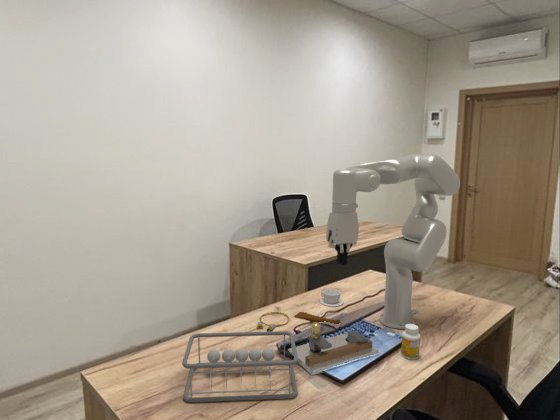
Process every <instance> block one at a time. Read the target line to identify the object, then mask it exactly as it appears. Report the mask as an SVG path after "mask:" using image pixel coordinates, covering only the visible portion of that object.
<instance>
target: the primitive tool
mask: <svg viewBox="0 0 560 420" xmlns="http://www.w3.org/2000/svg"><path fill="white" fill-rule="evenodd" d="M293 318H295V319H298V320H299V319H300V320H305V321H309V322H312V323H313V322H324V321H326V322H330V323H334V324H339V323H341V320H340V319H331V318H326V317H322V316H318V315H314V314H310V313H308V312H306V311H305V312H304V311H300V312H298V313H297V314H294V315H293Z"/></svg>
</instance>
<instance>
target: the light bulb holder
mask: <svg viewBox="0 0 560 420" xmlns="http://www.w3.org/2000/svg"><path fill="white" fill-rule="evenodd" d="M321 325H322V324H320V323H319V322H312V323H311V329H310V330H311V334H310V335H311V337H308V343H309V347H310V348H311V349H312V350H314V351H316V350H320V349H323V350H325V349H328V348H332V344H331V343H329V342H328V341H327V340H325V339H326V338H324V337H323V336H321V329H322V328H321Z"/></svg>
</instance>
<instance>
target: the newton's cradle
mask: <svg viewBox="0 0 560 420" xmlns="http://www.w3.org/2000/svg"><path fill="white" fill-rule="evenodd" d="M258 336H260V337H261V336H262V337H264V336H283V359H279V360H277V359H276V360H275V359H274V358H275V356H276V353H275V351H274V349H273V348H271V347H265V348H264V349H263V350H260V348H257V347H253V348H251V349H250V350H249V352H248V351H247V349H246V348H238V349H237V351H234V350H233V349H230V348H226V349H225V350H223V352H222V355H221V352H220V351H219V350H218V349H213V348H212V349H210V350H209V351H208V353H207V355H206V358H207V361H208V362H201V352H200V351H201V349H200V348H201V346H200V345H201V344H200V341H201V340H200V338H222V337H223V338H227V337H229V338H230V337H231V338H232V337H258ZM286 336H288V337H289V341H290V345H291V348H292V351H293V356H294V358H293V359H292V360H287V359H286ZM196 338H197V342H198V343H197V346H198V347H197V348H198V362H196V363H188V360H189V356H190V353H191V349H192V346H193V342H194V339H196ZM296 347H297V346H296V343H295V337H294V334H293V333H292V332H290V331H288V330H287V331H286V330H282V331H281V330H277V331H275V330H272V331H270V332H269V331H268V332H267V331H241V332H239V331H238V332H236V331H235V332H207V333H206V332H203V333H201V332H200V333H193V334H192V335H191V336H190V337H189V340H188V343H187V345H186V349H185V353H184V355H183V358H182V362H181V365H182V367H183V368H185V369H189V373H188V376H187V380H186V385H185V388H184V391H183V396H182V397H183V400H184V401H185V402H187V403H206V402H207V403H208V402H211V403H212V402H235V401H237V402H239V401H256V400H257V401H258V400H259V401H261V400H283V399H285V400H286V399H293V398H296V397H297V396H298V393H299V391H298V390H299V389H298V386H297V380H296V375H295V370H294V365H296V364H297V363H298V355H297V350H296ZM220 358H222V360H223V361H221V362H220V361H219V360H220ZM234 359H236V360H237V361H234ZM248 359H250V360H248ZM261 359H263V360H261ZM275 366H277V367H278V366H288V368H272V369H271V367H275ZM245 367H247V368H248V367H249V368H251V367H253V368H254V369H245V370H244V369H243V368H245ZM257 367H268V369H267V368H266V369H257ZM215 368H216V369H218V368H220V369H221V368H225V370H218V371H217V370H216V371H215V370H214V369H215ZM229 368H240V370H229ZM195 369H210V371H195ZM242 369H243V370H242ZM279 371H282V372H283V371H289V372H288V375H289V376H288V388H274V389H273V388H272V382H269V387H270V389H247V390H246V389H245V390H243V389H240V390H227V387H228V386H227V385H228V379H225V390H221V391H220V390H218V391H193V382H192V381H193V376H194V375H195V374H196V375H198V374H210V377H214V376H213V374H216V373H217V374H222V373H225V374H226V375H228V374H229V373H240V383H242V380H243V379H242V378H243V377H242V375H243V373H250V372H251V373H255V375H254V378H255V379H254V380H255V381H254V383H255V384H254V385H255V387H257V372H268V373H269V377H271V372H279ZM291 383H292V384H291ZM212 387H213V380H210V390H212ZM291 387H292V388H291ZM291 389H292V390H293V392H292V391H291ZM273 391H274V392H275V391H277V392H278V391H289V392H288V393H276V394H275V393H273V394H271V393H270V394H248V395H226V396H225V395H223V396H199V397H197V396H196V397H193V395H200V394H201V395H203V394H225V393H226V394H227V393H228V394H229V393H253V392H255V393H256V392H273ZM291 392H292V393H291ZM189 393H190V397H189Z"/></svg>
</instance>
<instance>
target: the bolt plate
mask: <svg viewBox="0 0 560 420" xmlns="http://www.w3.org/2000/svg"><path fill="white" fill-rule="evenodd" d="M324 339H325V340H327V341H328V342H329V343H331V344H332V348H328V349H325V350H323V349H320V350H316V351H314V350H312V349H311V348H310V347H309V342H308V343H304V344H302V345H297V346H296V350H297V355H298V362H297V363H298V364H299V365H300V366H301V367H302V368H304V369H305V370H306V371H307V373H309V374H310V375H311V376H314V375H315V376H316V375H318V374H322V373H323V372H322V371H323V370H325V369H328V368H331V367H333V366H337V365H340V364H343V363H347V362H349V361H352V360H355V359H359V358H363V357H367V356H370V355H374V354H377V353H380V352H379V351H380V350H379V349H378V348H376V347H374V346H373V341H372V340H371V339H369V338H367V337H366V336H364V335H363V334H361V333H359V332H358V331H357V330H352V331H347V333H343V334H339V335H336V336H335V335H334V336H332V337H328V338H324ZM288 351H289V352H290V353H291V354H292V355H293V351H292V347H291V348H287V352H288Z"/></svg>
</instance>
